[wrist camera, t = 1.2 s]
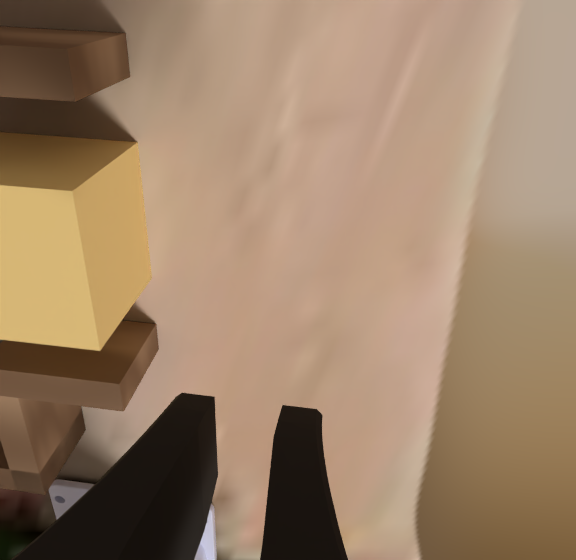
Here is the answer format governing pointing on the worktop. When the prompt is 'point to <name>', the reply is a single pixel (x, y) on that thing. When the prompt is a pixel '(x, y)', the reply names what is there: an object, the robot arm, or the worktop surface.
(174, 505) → the robot arm
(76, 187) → the ochre block
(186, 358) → the worktop surface
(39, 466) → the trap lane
